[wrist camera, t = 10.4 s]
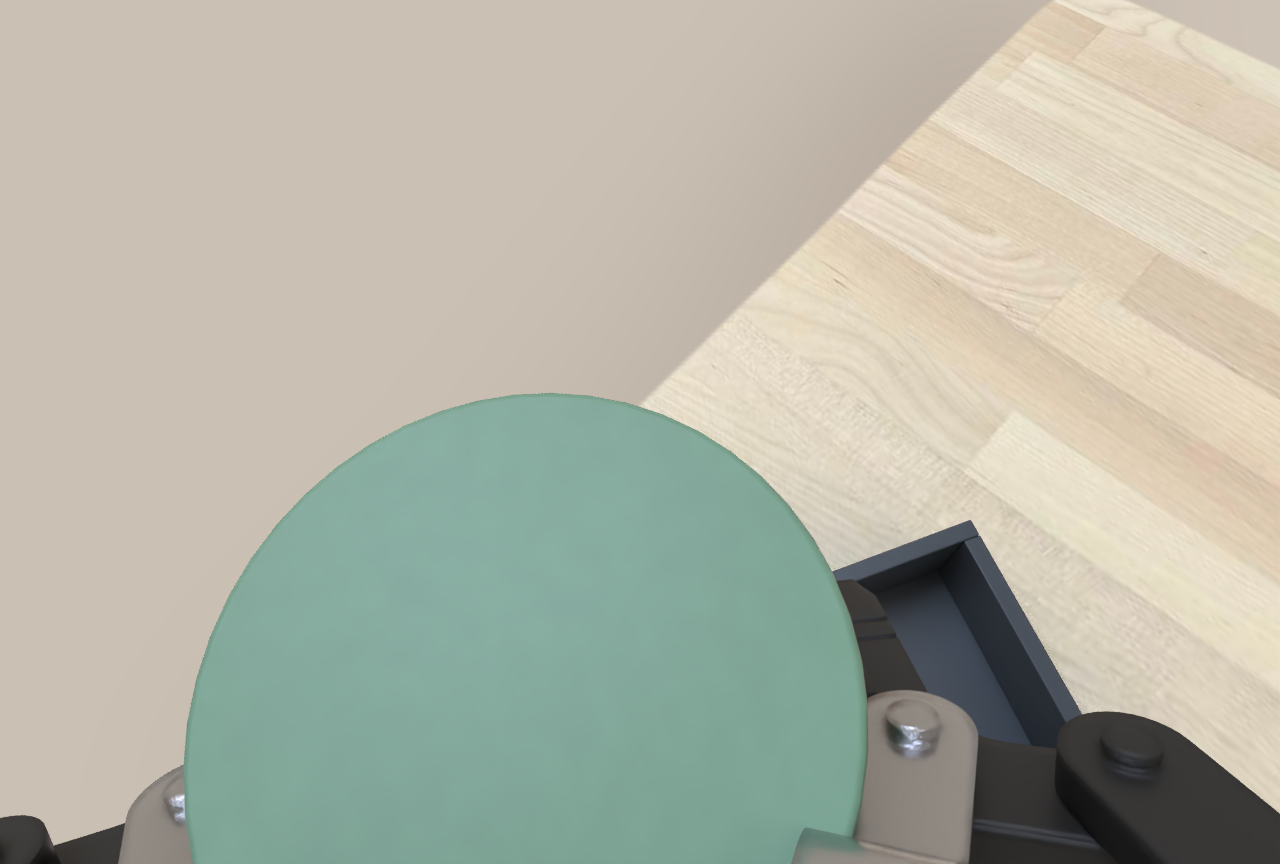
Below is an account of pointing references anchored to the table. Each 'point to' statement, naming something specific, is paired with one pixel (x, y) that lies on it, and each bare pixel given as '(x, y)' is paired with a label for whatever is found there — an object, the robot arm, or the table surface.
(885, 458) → the table surface
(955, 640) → the divided tray
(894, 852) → the robot arm
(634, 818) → the container
